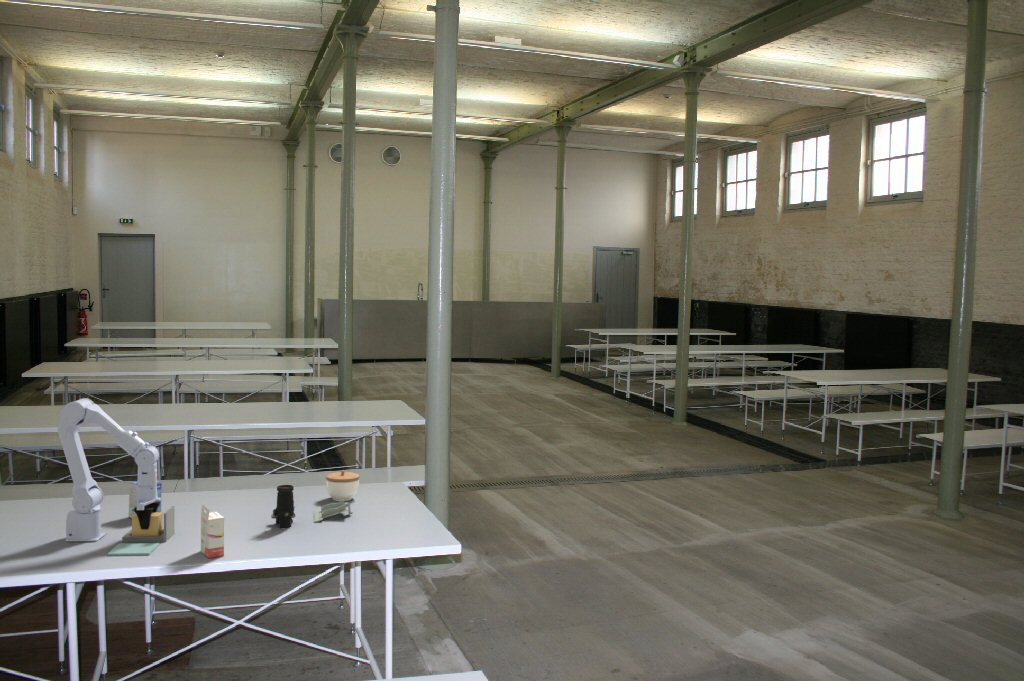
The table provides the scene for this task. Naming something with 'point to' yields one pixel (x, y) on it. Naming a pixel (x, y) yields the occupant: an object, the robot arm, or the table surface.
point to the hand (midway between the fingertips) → (147, 526)
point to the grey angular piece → (166, 534)
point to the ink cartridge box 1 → (134, 495)
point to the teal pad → (133, 549)
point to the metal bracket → (331, 510)
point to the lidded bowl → (342, 485)
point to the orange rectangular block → (154, 526)
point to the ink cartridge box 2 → (212, 533)
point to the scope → (284, 506)
